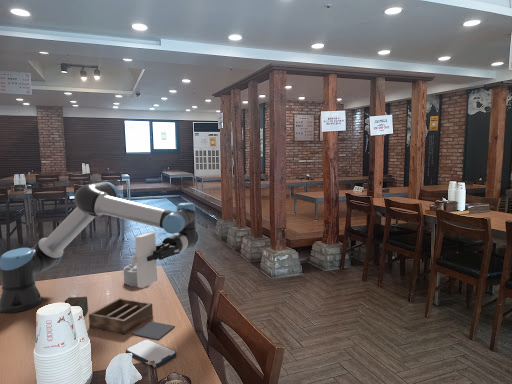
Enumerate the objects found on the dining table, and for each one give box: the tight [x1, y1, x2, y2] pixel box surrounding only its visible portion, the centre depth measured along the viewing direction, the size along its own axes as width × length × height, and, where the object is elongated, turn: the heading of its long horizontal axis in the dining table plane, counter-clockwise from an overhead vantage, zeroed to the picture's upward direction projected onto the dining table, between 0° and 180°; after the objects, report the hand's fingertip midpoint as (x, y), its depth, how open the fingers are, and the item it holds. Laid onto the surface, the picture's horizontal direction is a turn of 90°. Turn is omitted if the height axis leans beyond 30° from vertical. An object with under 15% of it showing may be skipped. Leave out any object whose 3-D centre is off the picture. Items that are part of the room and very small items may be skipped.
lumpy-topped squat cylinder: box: [123, 263, 138, 287], centre depth 177 cm, size 10×13×9 cm
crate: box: [88, 297, 154, 336], centre depth 135 cm, size 16×16×5 cm
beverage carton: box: [63, 296, 89, 316], centre depth 135 cm, size 8×19×7 cm, turn 4°
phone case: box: [125, 338, 178, 369], centre depth 112 cm, size 9×2×16 cm
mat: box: [131, 320, 176, 341], centre depth 127 cm, size 11×10×1 cm
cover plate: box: [134, 231, 158, 289], centre depth 126 cm, size 2×8×18 cm, turn 160°
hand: (136, 261), depth 121 cm, fingers closed on cover plate, 2 cm apart
